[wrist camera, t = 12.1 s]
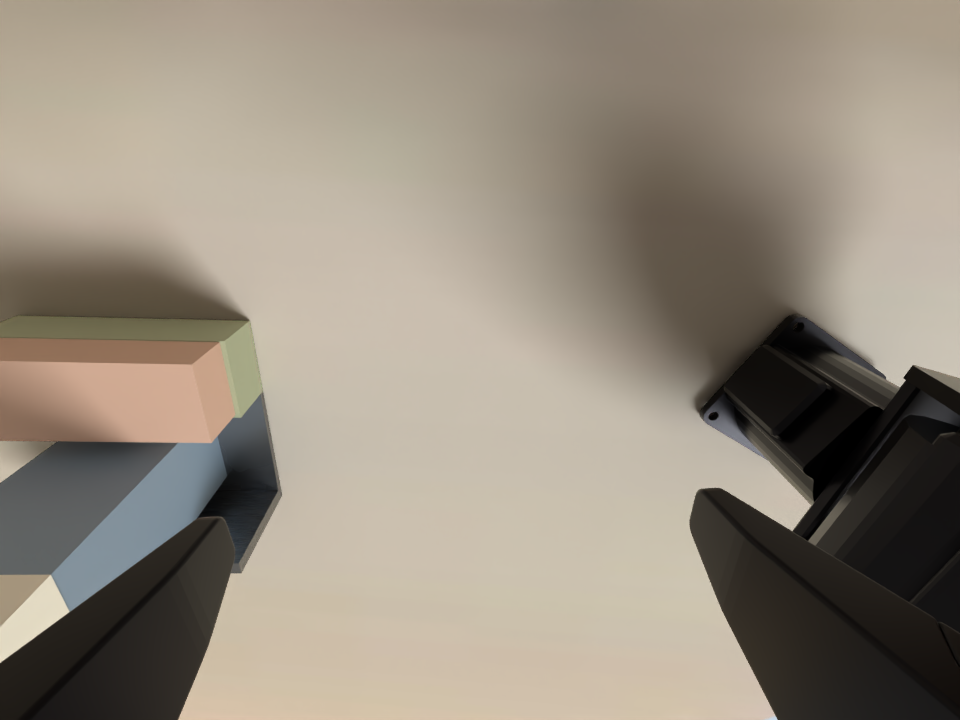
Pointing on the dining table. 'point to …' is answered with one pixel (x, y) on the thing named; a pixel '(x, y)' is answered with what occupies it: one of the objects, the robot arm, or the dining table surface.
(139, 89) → the dining table surface
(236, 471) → the steel bookend
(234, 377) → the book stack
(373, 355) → the dining table surface
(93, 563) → the blue-grey rectangular block
